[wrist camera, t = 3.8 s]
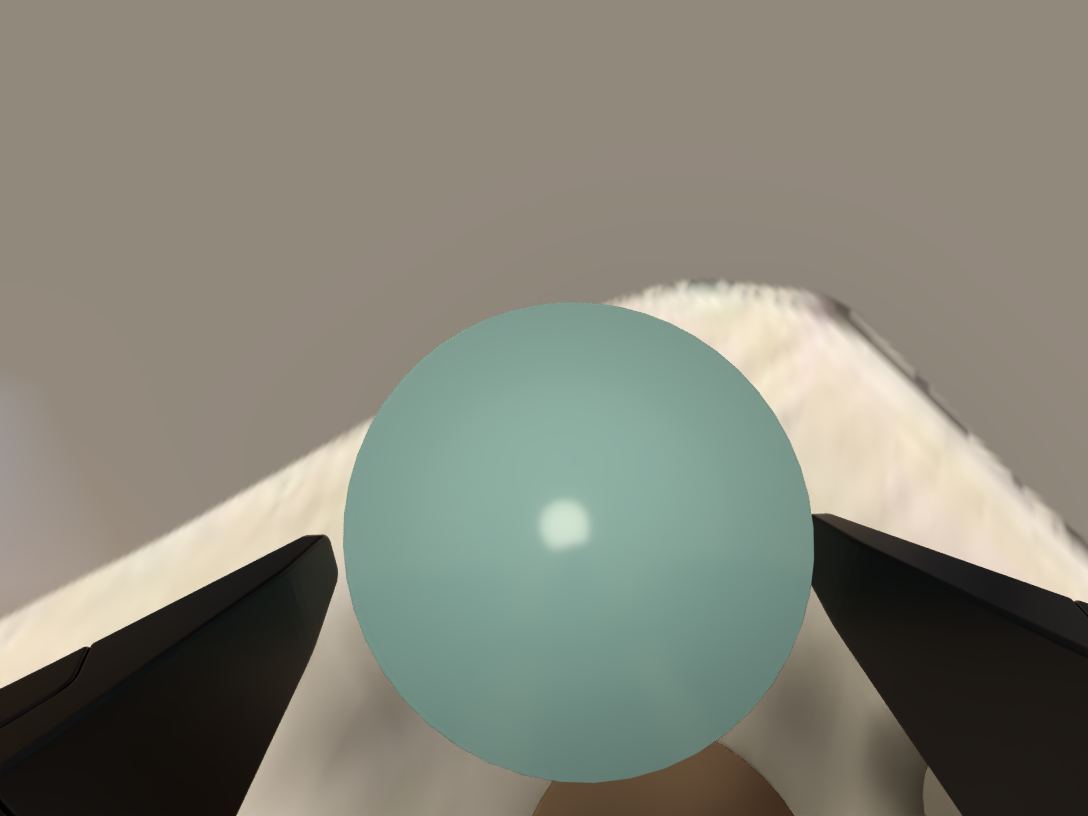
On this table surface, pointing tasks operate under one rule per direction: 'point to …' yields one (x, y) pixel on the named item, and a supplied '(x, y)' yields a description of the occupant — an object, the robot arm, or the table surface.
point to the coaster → (672, 791)
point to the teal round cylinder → (578, 542)
